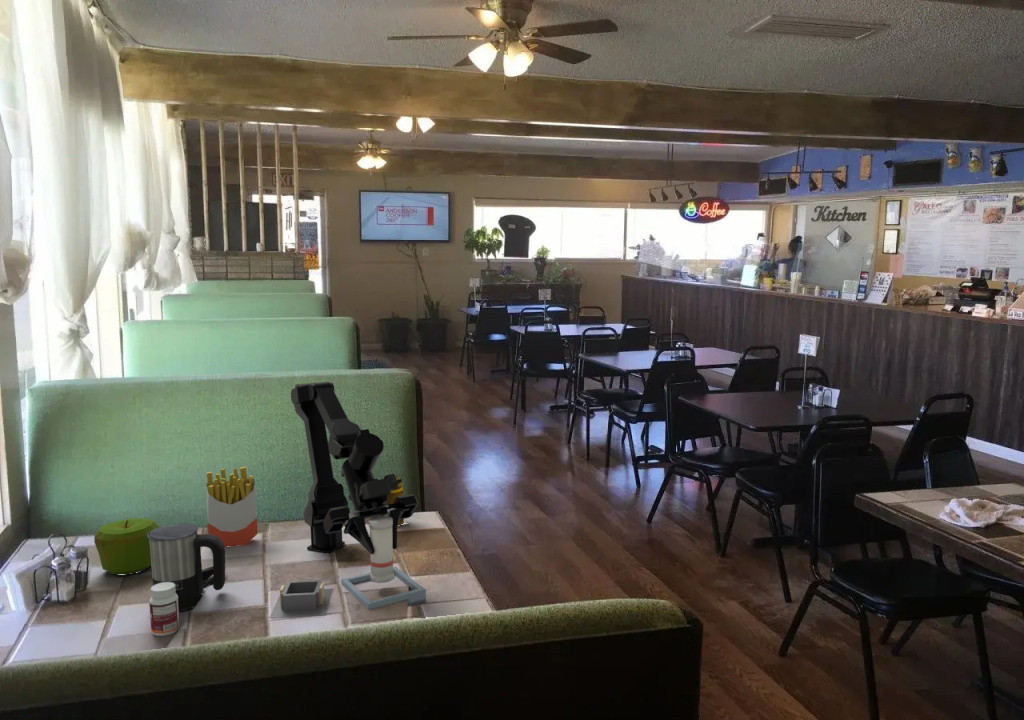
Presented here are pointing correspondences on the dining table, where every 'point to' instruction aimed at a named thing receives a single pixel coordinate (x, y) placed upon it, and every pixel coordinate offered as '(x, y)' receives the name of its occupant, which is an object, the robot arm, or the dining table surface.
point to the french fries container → (232, 507)
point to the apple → (125, 545)
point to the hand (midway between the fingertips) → (384, 550)
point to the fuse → (381, 549)
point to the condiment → (393, 496)
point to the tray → (413, 595)
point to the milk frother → (186, 561)
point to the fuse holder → (302, 599)
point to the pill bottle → (164, 609)
